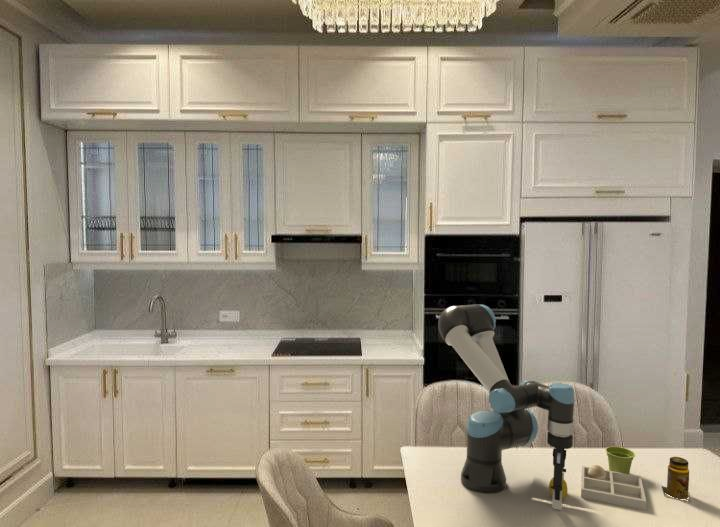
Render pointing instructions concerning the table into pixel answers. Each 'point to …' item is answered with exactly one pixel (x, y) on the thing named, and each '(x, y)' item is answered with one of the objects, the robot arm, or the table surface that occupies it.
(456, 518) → the table surface
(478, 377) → the robot arm
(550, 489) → the lemon
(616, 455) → the plant pot
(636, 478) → the tray
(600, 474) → the beige rounded ball
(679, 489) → the condiment
